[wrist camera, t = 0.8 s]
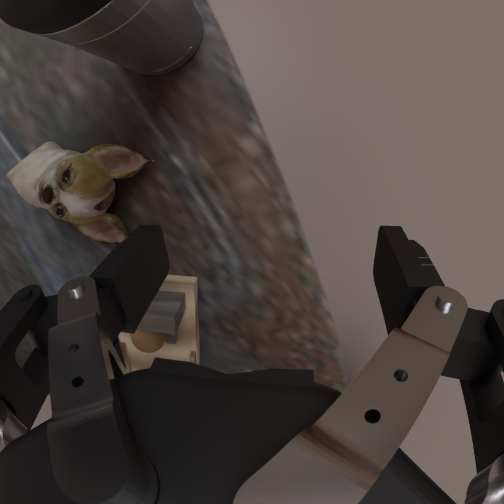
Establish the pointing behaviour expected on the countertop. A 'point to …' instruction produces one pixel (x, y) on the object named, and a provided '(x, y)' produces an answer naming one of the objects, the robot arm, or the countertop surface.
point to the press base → (183, 328)
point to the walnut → (148, 340)
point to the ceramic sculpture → (78, 185)
